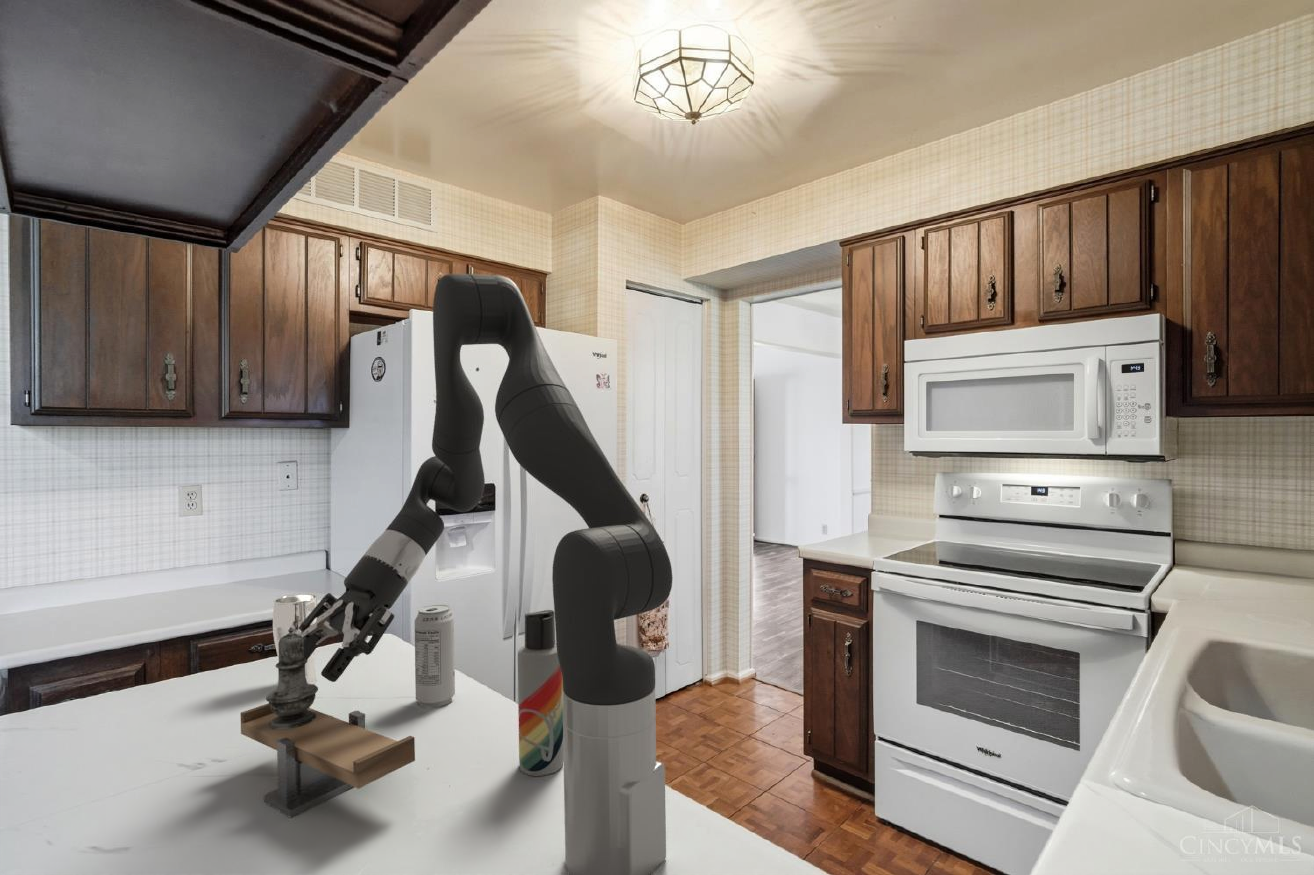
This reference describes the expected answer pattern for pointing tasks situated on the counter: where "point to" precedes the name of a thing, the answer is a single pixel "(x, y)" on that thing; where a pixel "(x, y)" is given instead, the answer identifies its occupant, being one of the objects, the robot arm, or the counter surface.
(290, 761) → the pivot stand
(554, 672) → the lotion bottle
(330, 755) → the beam
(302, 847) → the counter surface
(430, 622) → the energy drink can
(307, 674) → the beer glass
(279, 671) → the dark grey turned piece
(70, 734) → the counter surface
